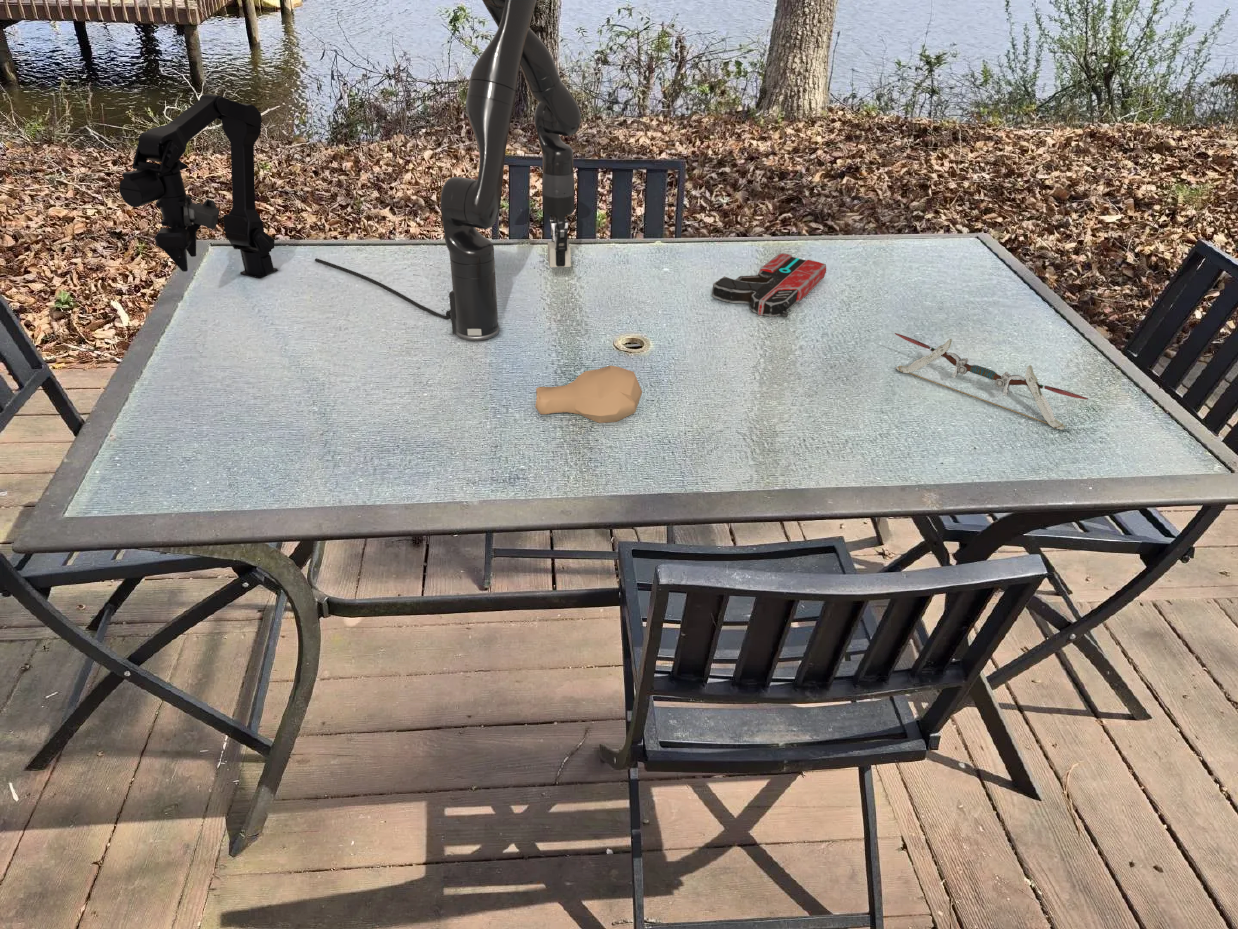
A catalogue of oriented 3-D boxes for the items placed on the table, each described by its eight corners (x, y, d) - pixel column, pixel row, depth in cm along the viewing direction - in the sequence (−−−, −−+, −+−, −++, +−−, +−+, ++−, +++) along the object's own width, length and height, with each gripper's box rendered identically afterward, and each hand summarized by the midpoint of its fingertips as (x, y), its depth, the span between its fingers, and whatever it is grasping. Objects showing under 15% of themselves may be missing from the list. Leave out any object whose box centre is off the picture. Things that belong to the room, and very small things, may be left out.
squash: (644, 429, 161) (640, 391, 154) (537, 437, 162) (528, 400, 156) (643, 392, 168) (639, 354, 162) (541, 400, 170) (533, 363, 164)
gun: (708, 284, 207) (784, 305, 199) (760, 245, 229) (831, 262, 221) (706, 302, 209) (781, 323, 201) (758, 261, 231) (828, 278, 223)
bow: (1077, 432, 163) (1095, 385, 158) (1074, 436, 162) (1091, 388, 156) (889, 364, 184) (899, 320, 179) (885, 367, 183) (895, 323, 178)
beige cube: (570, 266, 212) (570, 247, 210) (550, 267, 212) (549, 248, 209) (568, 259, 216) (568, 241, 214) (547, 260, 215) (547, 241, 213)
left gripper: (202, 206, 182) (220, 277, 191) (218, 180, 197) (234, 247, 206) (145, 208, 180) (165, 280, 189) (165, 181, 195) (183, 249, 204)
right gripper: (578, 200, 199) (578, 271, 208) (570, 182, 211) (570, 251, 220) (545, 201, 198) (547, 273, 207) (539, 183, 209) (540, 252, 219)
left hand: (189, 263), depth 197 cm, fingers open, 9 cm apart
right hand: (559, 261), depth 214 cm, fingers closed on beige cube, 4 cm apart
